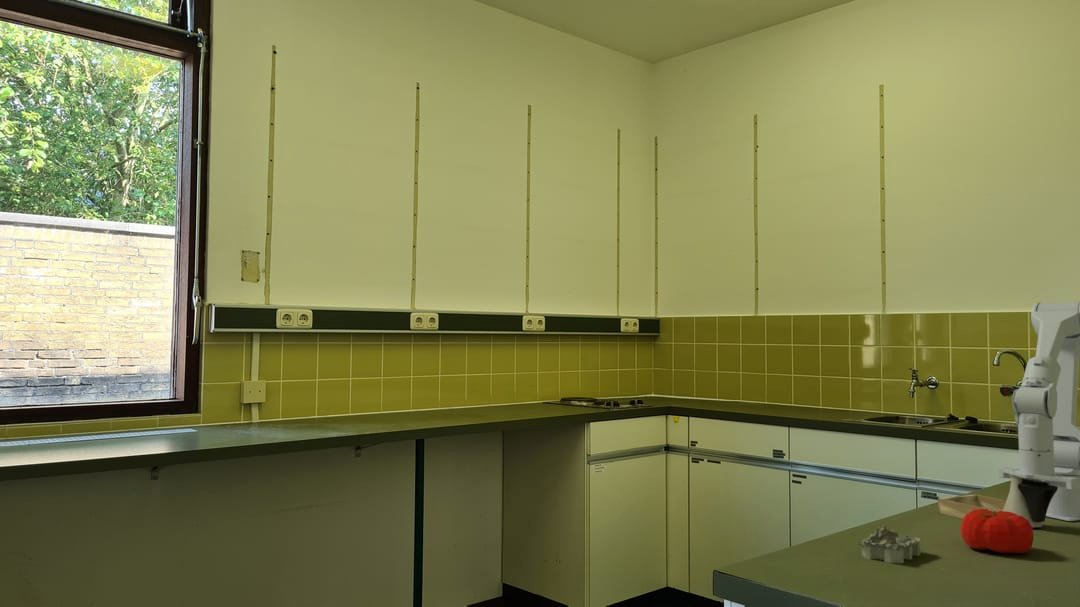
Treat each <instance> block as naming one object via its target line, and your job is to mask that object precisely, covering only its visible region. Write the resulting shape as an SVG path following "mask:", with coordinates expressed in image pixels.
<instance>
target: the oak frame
mask: <svg viewBox="0 0 1080 607" xmlns="http://www.w3.org/2000/svg"><path fill="white" fill-rule="evenodd" d="M1006 501H1007V499H1006V500H1005V499H1000V498H997V497H991V496H985V495H980V494H967V495H957V496H949V497H948V496H947V497H941V498H937V513H938V514H941V515H944V516H947V517H948V516H949V517H953V518H958V519H963V518H964V517H965V516H966V514H968V513H970V512H971V511H972V510H974V509H985V510H990V511H992V512H993V511H996V512H998V511H1003V509H1004V506H1005V503H1006Z"/></svg>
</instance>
